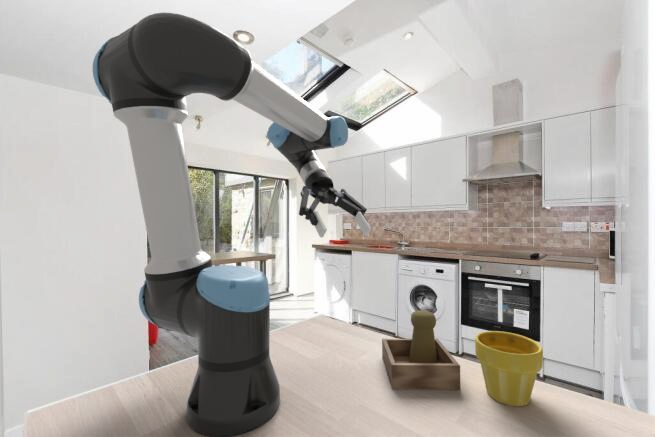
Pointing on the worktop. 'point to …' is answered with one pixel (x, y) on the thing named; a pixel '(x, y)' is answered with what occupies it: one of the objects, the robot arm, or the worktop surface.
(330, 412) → the worktop surface
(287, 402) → the worktop surface
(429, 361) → the cork
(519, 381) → the plant pot
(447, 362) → the walnut crate
